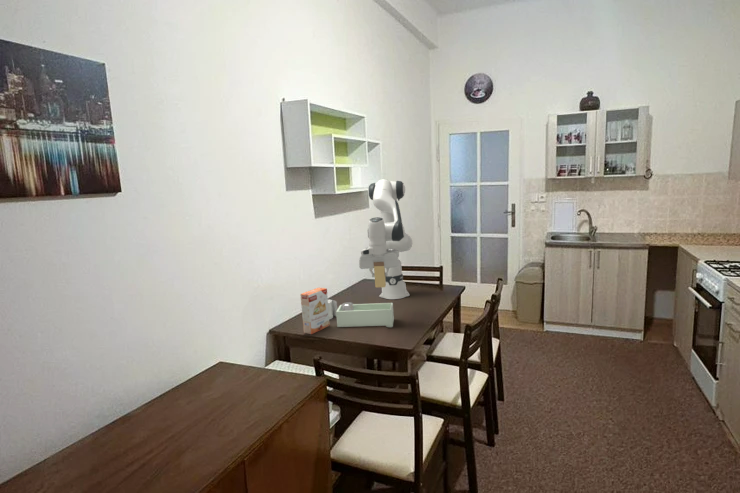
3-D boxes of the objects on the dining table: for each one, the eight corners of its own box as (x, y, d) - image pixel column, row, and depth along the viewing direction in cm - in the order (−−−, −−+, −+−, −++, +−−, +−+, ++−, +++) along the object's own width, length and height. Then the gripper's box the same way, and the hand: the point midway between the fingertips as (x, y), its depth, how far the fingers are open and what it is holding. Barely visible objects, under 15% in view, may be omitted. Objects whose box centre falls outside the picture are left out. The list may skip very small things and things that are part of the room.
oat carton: (376, 285, 229) (374, 260, 227) (385, 284, 228) (384, 260, 227) (375, 287, 224) (373, 262, 222) (385, 287, 223) (383, 261, 222)
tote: (341, 321, 236) (340, 304, 234) (393, 319, 232) (392, 302, 231) (337, 328, 224) (336, 311, 222) (392, 327, 220) (391, 309, 219)
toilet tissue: (311, 319, 243) (309, 301, 241) (331, 314, 248) (329, 297, 246) (317, 324, 233) (316, 305, 232) (338, 319, 239) (337, 301, 237)
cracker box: (312, 336, 216) (308, 294, 212) (303, 334, 219) (299, 293, 216) (330, 327, 227) (327, 287, 224) (321, 325, 230) (318, 286, 227)
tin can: (344, 320, 232) (342, 302, 231) (355, 320, 231) (353, 302, 230) (342, 324, 226) (340, 306, 225) (353, 324, 226) (352, 305, 224)
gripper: (398, 247, 226) (400, 274, 228) (359, 249, 228) (361, 276, 230) (398, 249, 219) (400, 276, 221) (357, 251, 222) (359, 278, 224)
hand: (379, 276), depth 226 cm, fingers closed on oat carton, 5 cm apart
